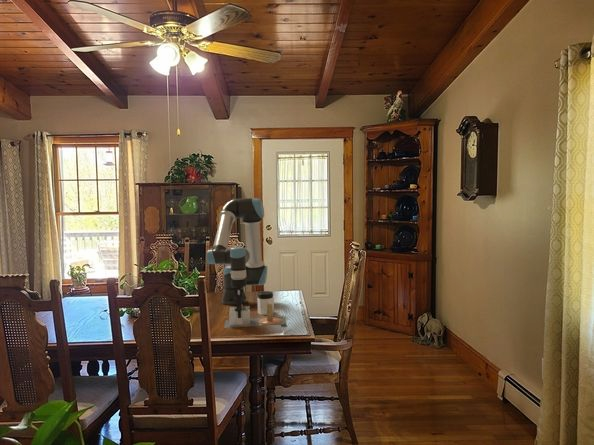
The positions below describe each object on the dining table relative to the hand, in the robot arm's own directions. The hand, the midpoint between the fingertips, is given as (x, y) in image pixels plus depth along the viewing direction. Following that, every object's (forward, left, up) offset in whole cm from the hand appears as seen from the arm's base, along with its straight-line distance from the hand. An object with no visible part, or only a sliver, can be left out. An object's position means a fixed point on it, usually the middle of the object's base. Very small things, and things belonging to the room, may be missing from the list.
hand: (239, 320), depth 212 cm
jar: (-8, +21, -2) cm, 22 cm away
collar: (0, 0, -1) cm, 1 cm away
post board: (+4, +7, -2) cm, 8 cm away
